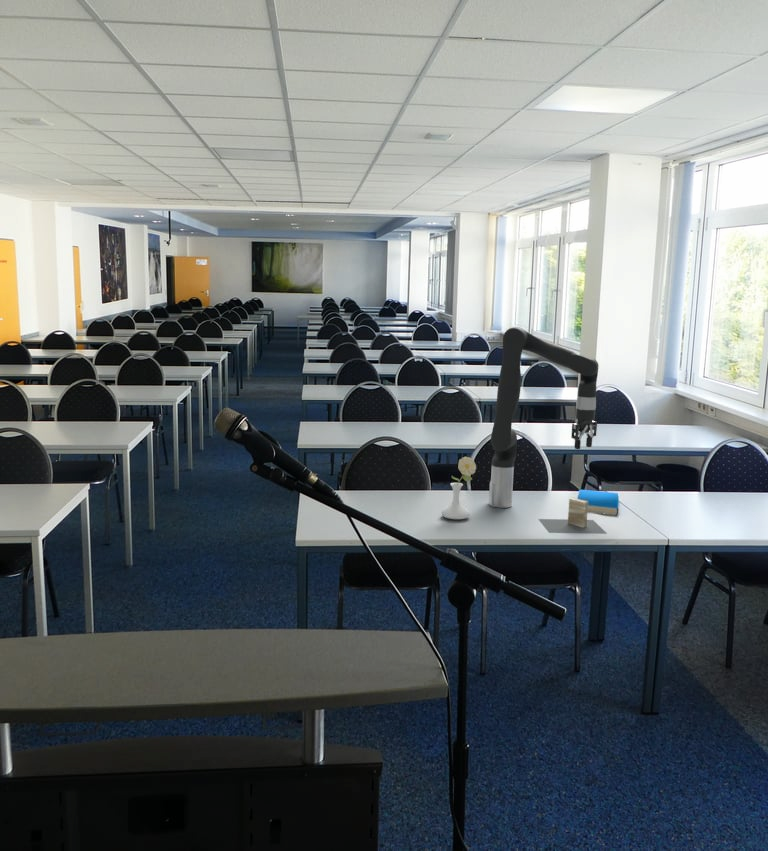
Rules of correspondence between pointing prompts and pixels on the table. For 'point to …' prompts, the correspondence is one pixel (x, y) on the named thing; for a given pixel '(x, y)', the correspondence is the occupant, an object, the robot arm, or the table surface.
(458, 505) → the flower in vase
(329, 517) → the table surface
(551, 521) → the mat
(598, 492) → the book
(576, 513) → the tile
